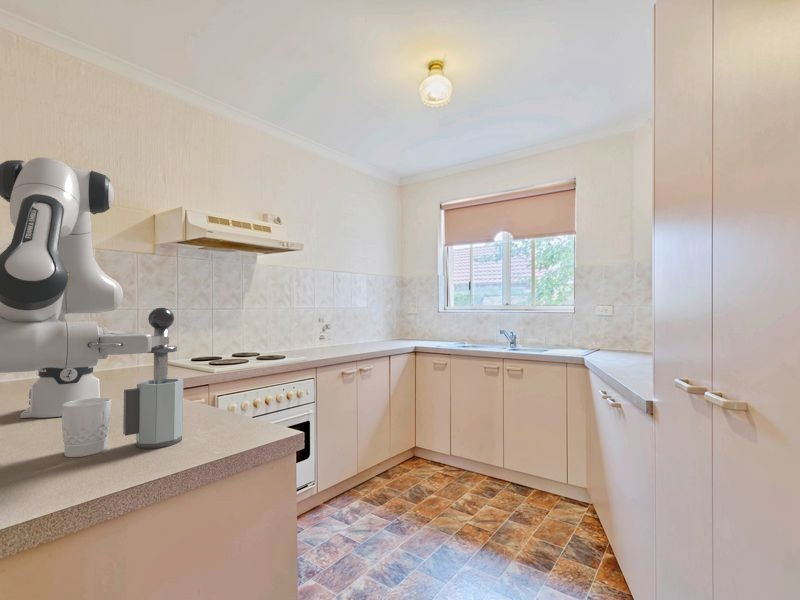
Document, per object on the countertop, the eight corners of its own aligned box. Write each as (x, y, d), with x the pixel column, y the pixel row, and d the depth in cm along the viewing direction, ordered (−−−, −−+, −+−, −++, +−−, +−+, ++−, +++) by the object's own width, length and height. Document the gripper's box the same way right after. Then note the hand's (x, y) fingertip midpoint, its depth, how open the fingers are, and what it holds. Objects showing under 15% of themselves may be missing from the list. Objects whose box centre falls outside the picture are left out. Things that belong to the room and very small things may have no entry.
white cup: (119, 444, 83) (120, 397, 83) (91, 458, 75) (92, 406, 75) (81, 445, 83) (82, 397, 83) (49, 459, 75) (50, 406, 75)
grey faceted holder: (120, 444, 83) (121, 383, 83) (175, 433, 90) (176, 377, 91) (128, 454, 77) (129, 388, 77) (187, 442, 84) (187, 381, 85)
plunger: (140, 427, 84) (142, 307, 85) (171, 421, 89) (173, 307, 90) (147, 433, 80) (148, 307, 81) (179, 426, 84) (180, 307, 85)
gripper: (92, 328, 69) (180, 326, 78) (79, 326, 83) (154, 325, 93) (92, 364, 68) (179, 357, 78) (78, 356, 83) (154, 351, 93)
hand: (165, 340), depth 86 cm, fingers closed on plunger, 3 cm apart
